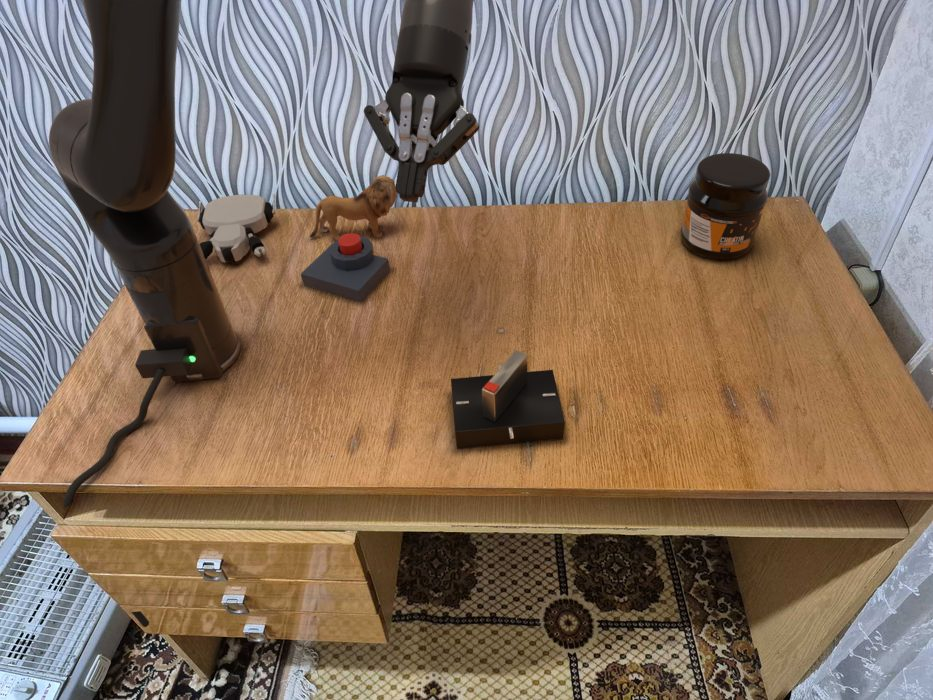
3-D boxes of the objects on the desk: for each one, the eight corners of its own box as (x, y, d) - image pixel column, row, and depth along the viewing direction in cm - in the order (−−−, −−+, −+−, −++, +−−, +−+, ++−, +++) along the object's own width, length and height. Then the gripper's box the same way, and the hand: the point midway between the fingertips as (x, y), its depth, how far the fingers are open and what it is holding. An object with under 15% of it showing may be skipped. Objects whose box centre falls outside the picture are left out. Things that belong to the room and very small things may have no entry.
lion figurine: (399, 216, 108) (392, 166, 102) (404, 234, 104) (397, 183, 98) (309, 231, 106) (296, 181, 100) (311, 250, 103) (297, 199, 96)
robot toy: (273, 269, 101) (281, 210, 111) (265, 246, 97) (274, 187, 107) (192, 277, 100) (207, 217, 110) (181, 254, 97) (198, 195, 107)
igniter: (394, 265, 99) (391, 243, 96) (361, 302, 93) (356, 280, 90) (339, 251, 102) (334, 229, 99) (303, 285, 96) (297, 263, 93)
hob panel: (549, 377, 81) (550, 358, 78) (566, 450, 73) (567, 432, 70) (451, 386, 80) (449, 367, 78) (457, 460, 72) (455, 442, 70)
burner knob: (515, 377, 77) (515, 347, 73) (527, 382, 76) (528, 353, 73) (483, 416, 73) (481, 387, 69) (495, 422, 72) (494, 393, 69)
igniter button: (366, 245, 96) (364, 235, 95) (354, 258, 94) (352, 248, 93) (348, 241, 97) (346, 231, 96) (336, 253, 95) (333, 243, 94)
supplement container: (683, 262, 96) (699, 188, 87) (674, 221, 103) (688, 150, 95) (759, 263, 94) (782, 189, 86) (745, 222, 102) (765, 150, 93)
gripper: (363, 18, 68) (336, 184, 68) (487, 24, 65) (459, 197, 65) (388, 52, 75) (364, 202, 76) (500, 58, 72) (475, 215, 73)
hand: (408, 200), depth 70 cm, fingers closed
